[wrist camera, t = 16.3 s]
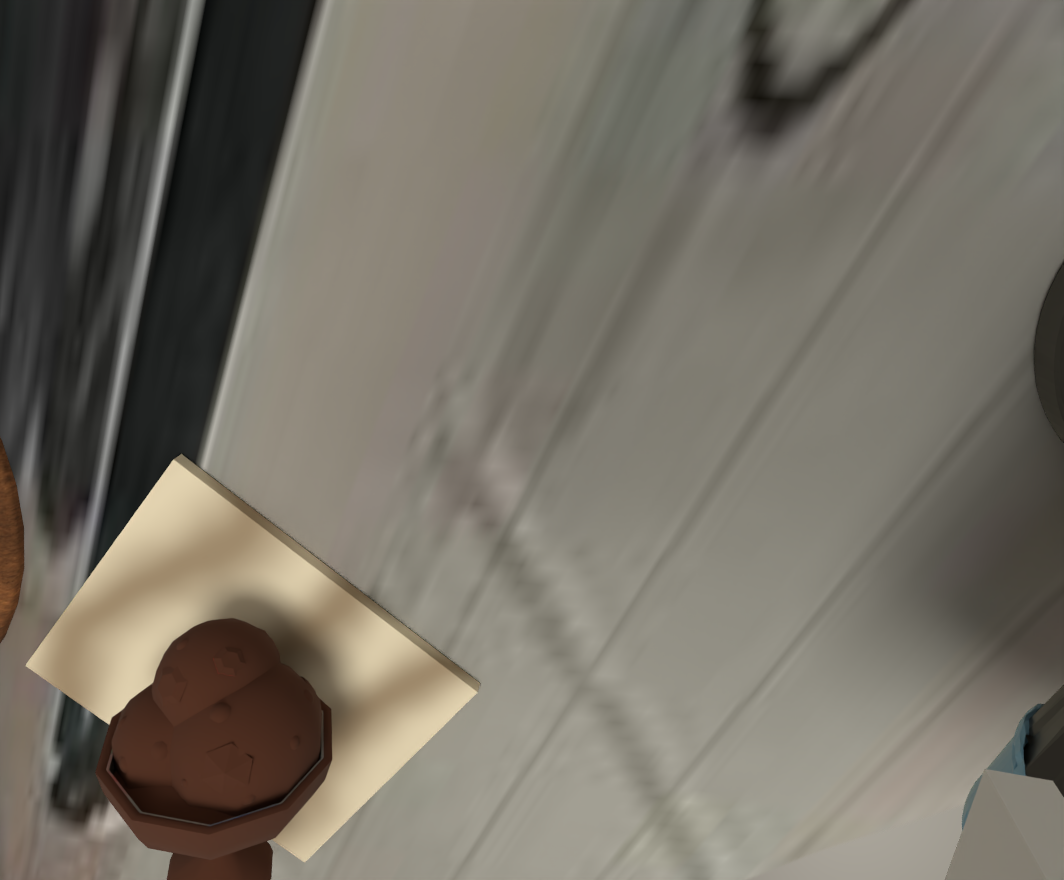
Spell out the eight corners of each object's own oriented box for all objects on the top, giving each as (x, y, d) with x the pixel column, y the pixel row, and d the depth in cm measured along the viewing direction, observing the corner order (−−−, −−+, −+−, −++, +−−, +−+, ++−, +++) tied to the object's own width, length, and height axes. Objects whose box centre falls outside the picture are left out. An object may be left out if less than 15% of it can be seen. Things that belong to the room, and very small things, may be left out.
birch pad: (480, 683, 46) (477, 692, 45) (309, 852, 51) (304, 862, 50) (181, 454, 43) (173, 459, 42) (34, 657, 48) (25, 665, 48)
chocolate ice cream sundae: (57, 907, 42) (31, 674, 36) (215, 760, 51) (216, 557, 45) (227, 1012, 39) (230, 777, 32) (361, 835, 48) (384, 628, 42)
